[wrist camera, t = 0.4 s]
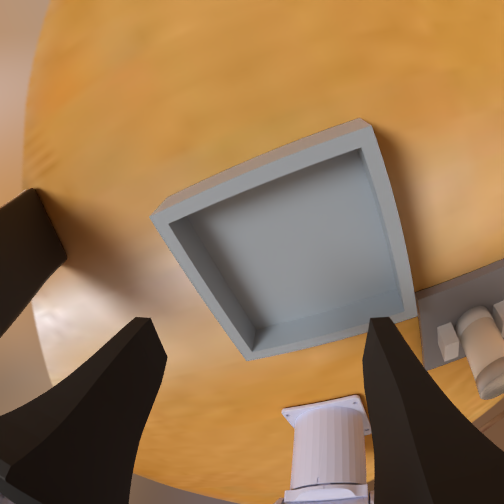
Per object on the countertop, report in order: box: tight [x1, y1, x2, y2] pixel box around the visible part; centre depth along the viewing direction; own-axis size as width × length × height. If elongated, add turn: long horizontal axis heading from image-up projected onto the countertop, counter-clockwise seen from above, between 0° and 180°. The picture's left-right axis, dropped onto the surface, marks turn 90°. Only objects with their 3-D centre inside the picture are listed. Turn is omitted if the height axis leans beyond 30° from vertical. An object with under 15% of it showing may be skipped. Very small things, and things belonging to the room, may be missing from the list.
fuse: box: [455, 306, 504, 400], centre depth 17 cm, size 3×3×6 cm
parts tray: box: [149, 118, 418, 361], centre depth 18 cm, size 12×12×3 cm
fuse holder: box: [415, 259, 504, 371], centre depth 19 cm, size 9×9×3 cm
